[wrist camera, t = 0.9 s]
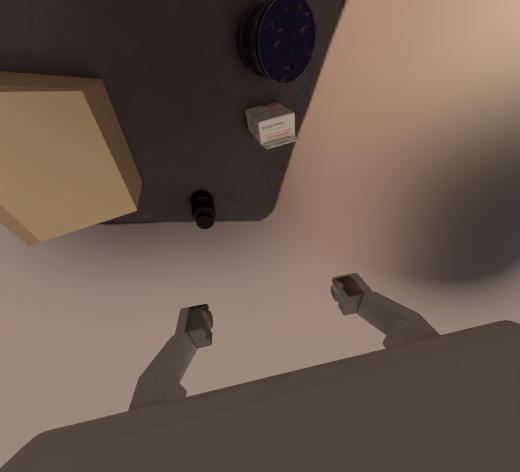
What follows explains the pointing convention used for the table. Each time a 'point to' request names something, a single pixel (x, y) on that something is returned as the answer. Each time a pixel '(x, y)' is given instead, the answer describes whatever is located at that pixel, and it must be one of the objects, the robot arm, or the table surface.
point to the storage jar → (277, 39)
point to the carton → (100, 110)
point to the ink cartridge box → (271, 124)
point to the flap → (55, 166)
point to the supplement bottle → (203, 209)
